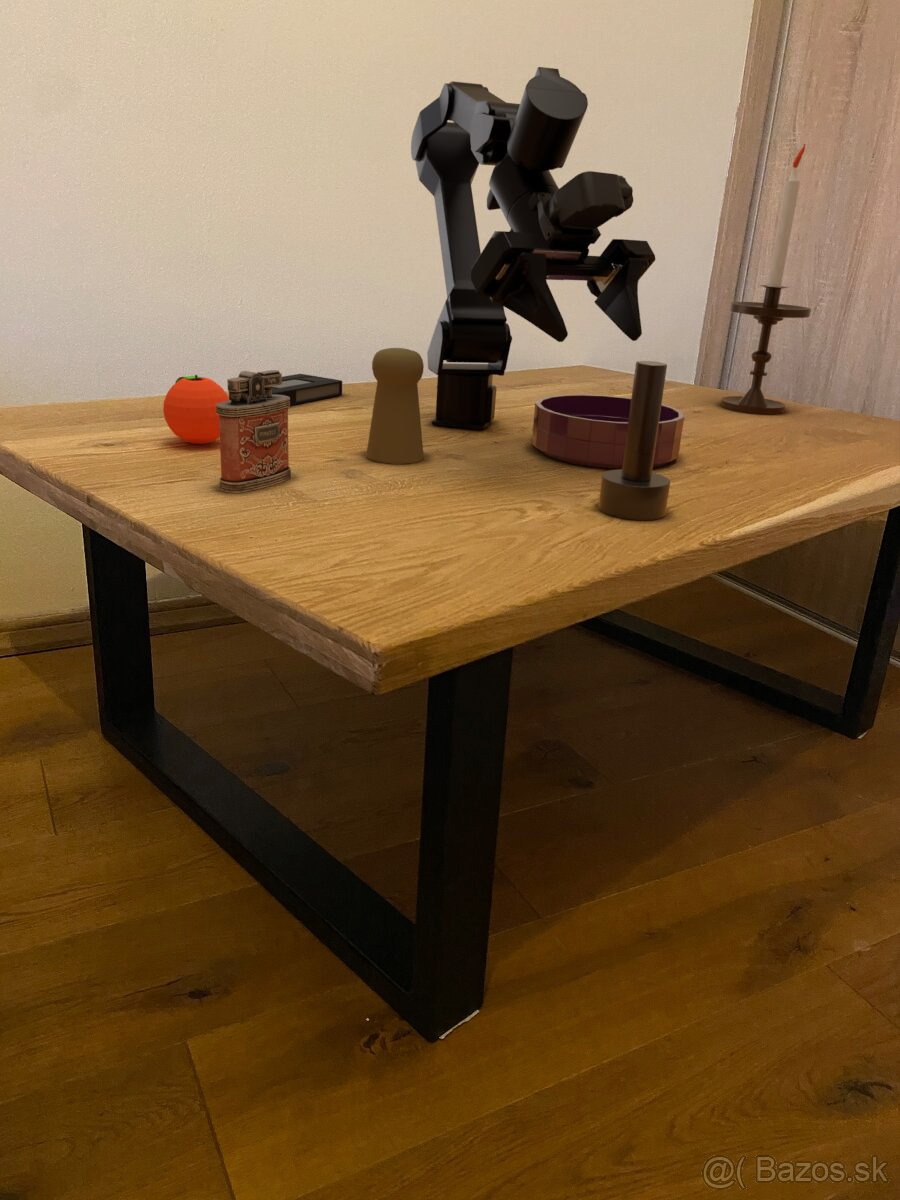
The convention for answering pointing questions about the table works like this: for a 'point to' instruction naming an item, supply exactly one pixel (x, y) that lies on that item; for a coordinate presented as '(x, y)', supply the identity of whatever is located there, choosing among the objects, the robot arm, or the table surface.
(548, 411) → the bowl
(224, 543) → the table surface
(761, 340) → the candlestick
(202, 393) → the clementine
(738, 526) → the table surface
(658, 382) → the bolt
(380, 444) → the cork
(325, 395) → the vhs tape
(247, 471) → the lighter
